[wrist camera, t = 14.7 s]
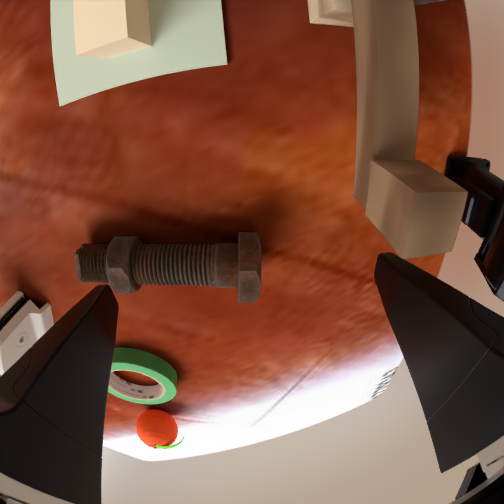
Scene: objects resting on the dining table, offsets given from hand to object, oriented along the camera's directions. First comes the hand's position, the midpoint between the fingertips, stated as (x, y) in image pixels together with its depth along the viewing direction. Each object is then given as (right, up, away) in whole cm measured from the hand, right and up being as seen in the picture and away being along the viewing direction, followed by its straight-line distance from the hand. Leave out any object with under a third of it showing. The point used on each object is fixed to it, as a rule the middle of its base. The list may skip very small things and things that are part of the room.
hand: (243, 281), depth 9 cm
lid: (-8, +18, +4) cm, 20 cm away
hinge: (-29, -10, +20) cm, 37 cm away
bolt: (-7, +1, +15) cm, 16 cm away
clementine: (-15, -26, +32) cm, 44 cm away
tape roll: (-15, -15, +25) cm, 33 cm away
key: (+7, +9, +4) cm, 12 cm away
